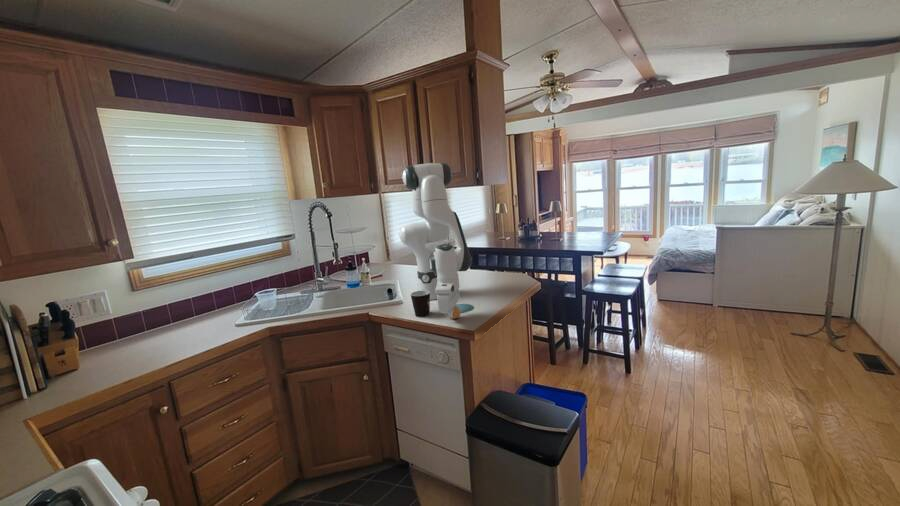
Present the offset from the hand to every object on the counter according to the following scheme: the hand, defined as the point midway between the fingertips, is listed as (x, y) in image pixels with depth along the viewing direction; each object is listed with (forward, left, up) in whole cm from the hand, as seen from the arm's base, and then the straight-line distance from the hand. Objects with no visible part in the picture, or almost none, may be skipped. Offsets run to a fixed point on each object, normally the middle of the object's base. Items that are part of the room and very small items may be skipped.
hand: (451, 316), depth 151 cm
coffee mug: (-10, -15, -2) cm, 18 cm away
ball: (-4, 0, +1) cm, 4 cm away
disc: (-17, 0, -2) cm, 17 cm away
